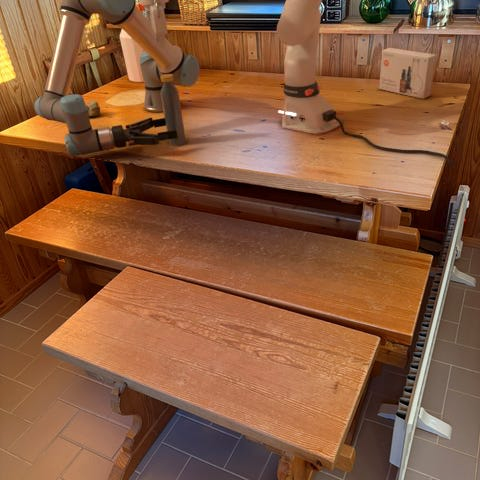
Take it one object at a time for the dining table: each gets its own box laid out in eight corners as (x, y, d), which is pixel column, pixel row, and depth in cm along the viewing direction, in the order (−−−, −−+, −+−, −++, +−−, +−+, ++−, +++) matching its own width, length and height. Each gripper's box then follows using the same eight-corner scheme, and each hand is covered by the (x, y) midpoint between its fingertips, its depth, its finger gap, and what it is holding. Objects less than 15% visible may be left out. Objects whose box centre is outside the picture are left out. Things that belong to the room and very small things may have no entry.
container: (160, 81, 233) (149, 21, 217) (121, 82, 238) (108, 23, 222) (174, 69, 249) (165, 13, 233) (138, 70, 254) (126, 15, 238)
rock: (77, 116, 202) (75, 120, 193) (73, 101, 199) (71, 104, 190) (102, 112, 204) (101, 116, 195) (98, 97, 201) (98, 100, 192)
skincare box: (377, 89, 194) (381, 50, 185) (385, 86, 197) (389, 47, 188) (423, 99, 180) (429, 56, 171) (430, 95, 183) (437, 53, 174)
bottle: (169, 146, 163) (157, 80, 150) (169, 140, 168) (158, 75, 155) (186, 144, 163) (175, 78, 150) (186, 138, 168) (176, 73, 155)
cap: (160, 82, 151) (160, 78, 151) (161, 79, 155) (160, 74, 154) (173, 81, 152) (172, 76, 151) (173, 78, 155) (172, 73, 154)
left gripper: (114, 135, 171) (171, 125, 174) (117, 162, 150) (181, 150, 154) (109, 115, 166) (167, 105, 170) (111, 140, 146) (177, 128, 150)
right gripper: (167, -1, 131) (175, 50, 139) (160, -9, 148) (167, 38, 156) (145, 2, 130) (154, 53, 138) (140, -6, 147) (149, 40, 155)
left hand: (174, 127), depth 162 cm, fingers open, 13 cm apart
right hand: (161, 45), depth 147 cm, fingers open, 8 cm apart
